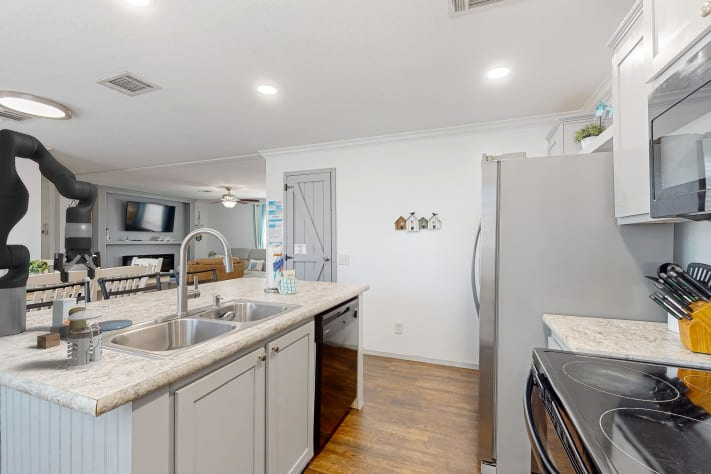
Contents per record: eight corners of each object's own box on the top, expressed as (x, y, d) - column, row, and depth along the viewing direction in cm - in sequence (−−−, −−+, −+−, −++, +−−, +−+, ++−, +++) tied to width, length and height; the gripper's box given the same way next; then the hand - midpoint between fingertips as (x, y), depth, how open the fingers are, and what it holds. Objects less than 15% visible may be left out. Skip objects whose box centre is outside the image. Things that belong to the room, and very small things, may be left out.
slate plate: (79, 329, 126) (79, 327, 126) (114, 320, 139) (114, 318, 139) (108, 332, 122) (108, 330, 122) (140, 323, 136) (140, 320, 136)
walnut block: (36, 348, 105) (37, 335, 105) (51, 344, 109) (51, 332, 109) (46, 349, 104) (46, 336, 104) (59, 345, 108) (60, 333, 108)
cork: (93, 336, 118) (93, 306, 118) (77, 341, 112) (77, 309, 112) (78, 335, 119) (78, 305, 119) (61, 340, 113) (61, 309, 113)
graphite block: (50, 337, 116) (50, 326, 116) (62, 334, 120) (62, 323, 120) (58, 338, 115) (58, 327, 115) (71, 335, 119) (71, 324, 119)
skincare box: (62, 331, 123) (63, 300, 123) (51, 331, 123) (52, 300, 123) (76, 327, 129) (77, 297, 129) (66, 327, 129) (66, 297, 129)
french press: (97, 354, 100) (98, 274, 100) (115, 362, 94) (116, 276, 94) (56, 365, 92) (57, 277, 92) (73, 374, 86) (74, 280, 86)
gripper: (90, 236, 123) (90, 278, 123) (47, 235, 110) (47, 283, 110) (106, 236, 122) (106, 279, 122) (64, 235, 108) (64, 284, 108)
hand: (78, 281), depth 116 cm, fingers open, 8 cm apart
